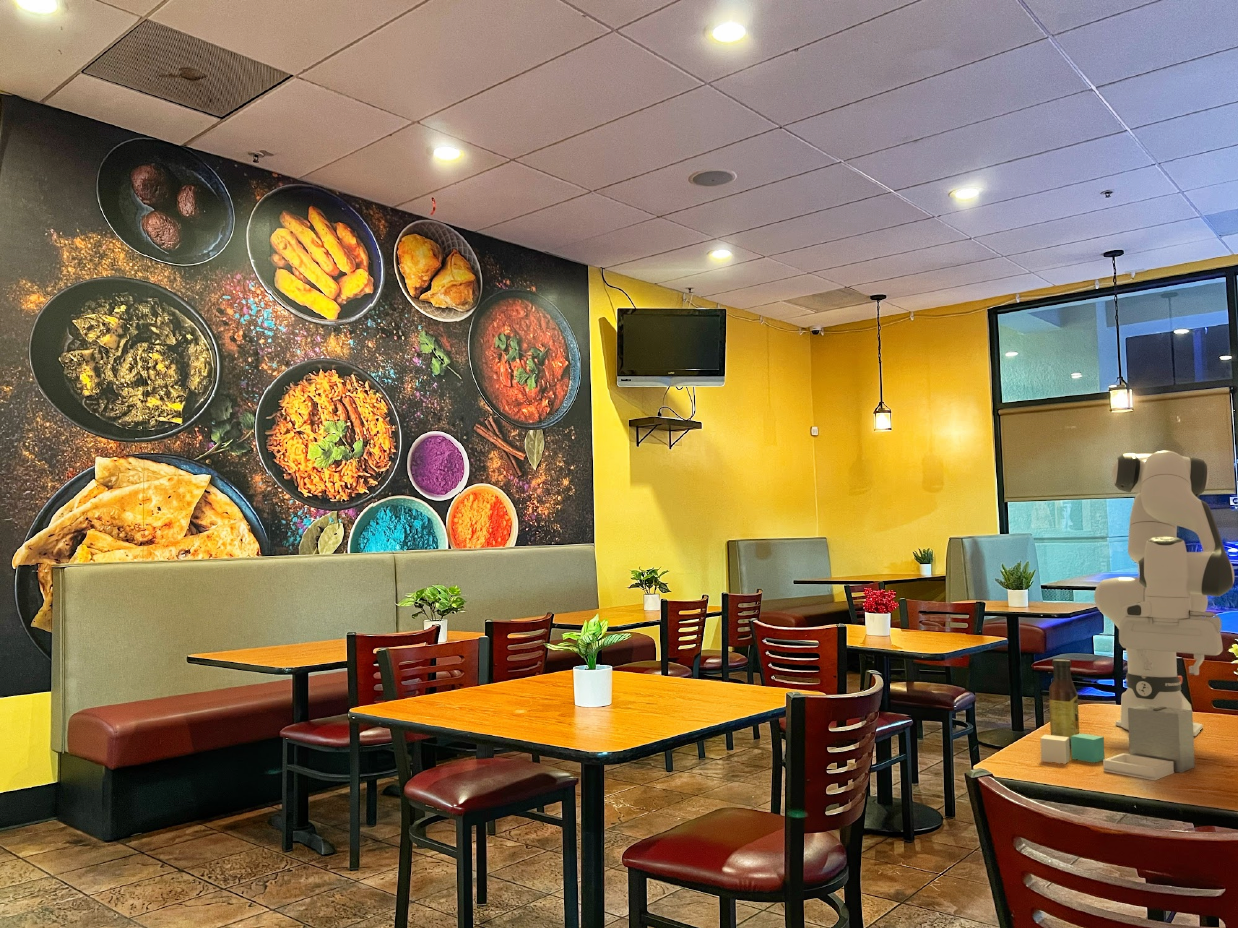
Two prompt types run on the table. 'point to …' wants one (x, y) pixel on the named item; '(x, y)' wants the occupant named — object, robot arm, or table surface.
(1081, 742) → the teal block
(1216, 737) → the table surface
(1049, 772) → the table surface
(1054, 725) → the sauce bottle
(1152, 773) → the tray
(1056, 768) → the table surface
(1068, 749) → the cream block
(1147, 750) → the dispenser
